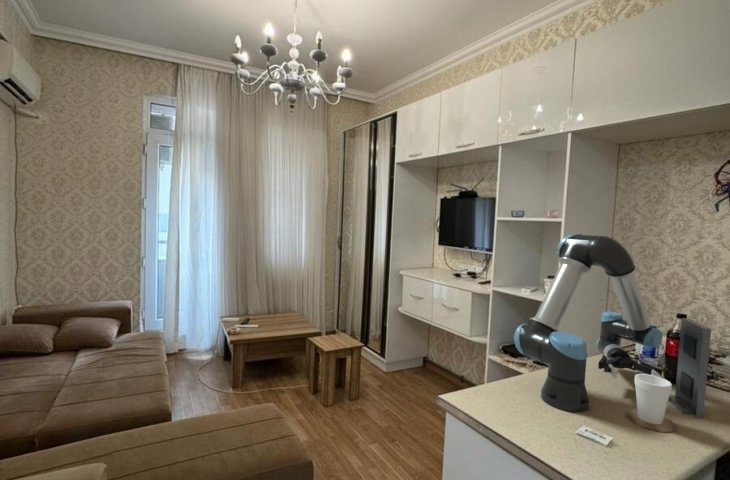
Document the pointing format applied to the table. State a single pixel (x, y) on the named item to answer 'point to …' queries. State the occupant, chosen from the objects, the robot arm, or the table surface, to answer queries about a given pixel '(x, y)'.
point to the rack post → (692, 368)
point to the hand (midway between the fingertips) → (637, 377)
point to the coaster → (663, 427)
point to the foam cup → (652, 397)
